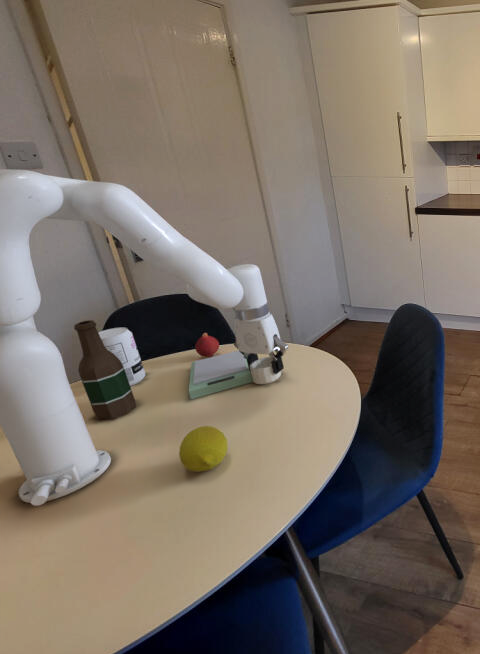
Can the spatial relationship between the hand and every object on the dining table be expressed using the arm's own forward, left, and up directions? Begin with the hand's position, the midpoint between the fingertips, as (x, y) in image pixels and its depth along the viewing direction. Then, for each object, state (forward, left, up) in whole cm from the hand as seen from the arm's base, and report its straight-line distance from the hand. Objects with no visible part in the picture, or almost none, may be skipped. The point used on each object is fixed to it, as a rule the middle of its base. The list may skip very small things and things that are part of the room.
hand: (266, 369), depth 114 cm
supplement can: (+22, +33, -3) cm, 39 cm away
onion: (+25, +14, -3) cm, 28 cm away
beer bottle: (+6, +33, -3) cm, 33 cm away
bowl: (0, 0, -3) cm, 3 cm away
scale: (+10, +11, -3) cm, 15 cm away
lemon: (-29, +14, -3) cm, 33 cm away
